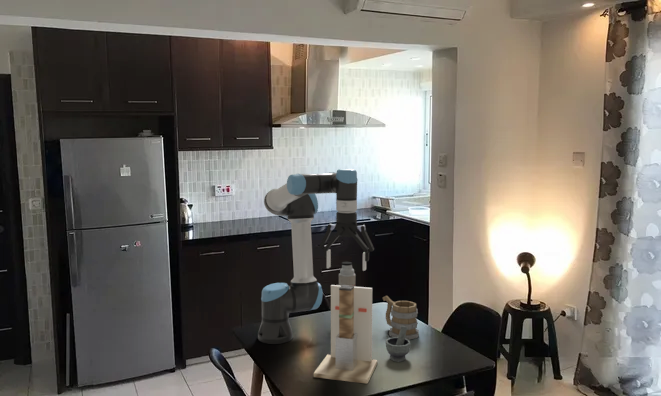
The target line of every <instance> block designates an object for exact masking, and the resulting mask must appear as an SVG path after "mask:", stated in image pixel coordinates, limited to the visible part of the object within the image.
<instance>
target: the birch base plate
mask: <svg viewBox="0 0 661 396" xmlns="http://www.w3.org/2000/svg"><path fill="white" fill-rule="evenodd" d="M377 365H378V360H377V359H372V361H362V360H357V365H356V366H355V368H354V370H353V371H349V370H341V369H336V358H335V357H331V354H329V353H327V354H326V356H325V357H324V358H323V360H322V361H321V362H320V364H319V365H318V366H317V368H316V369H315V370H314V372H313V378H320V379H327V380H336V381H343V382H344V381H345V382H350V383H361V384H369V381H370V379H371V378H372V376H373V373H374V371H375V369H376V367H377Z"/></svg>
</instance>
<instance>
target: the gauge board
mask: <svg viewBox="0 0 661 396" xmlns="http://www.w3.org/2000/svg"><path fill="white" fill-rule="evenodd" d="M340 287H341V286H340V285H339V284H336V285H335V284H331V285H330V355H331V357H335V358H336V336H337V335H338V334H339V288H340ZM354 333H357V360H362V361H372V355H373V354H372V353H373V287H366V286H365V287H364V286H355V287H354Z"/></svg>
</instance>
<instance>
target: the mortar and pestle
mask: <svg viewBox="0 0 661 396" xmlns="http://www.w3.org/2000/svg"><path fill="white" fill-rule="evenodd" d="M407 329H408V328H407V327H405V326H401V330H400V333H399V336H398V337H389V338H387V339H386V340H385V347H386V351H387V353H388V354H389V359H390V360H391V361H393V362H399V363H400V362H404V361H406V359H407V358H406V356H407V354H408V353H410V350H411V341H410V340H408V339H405V336H406V330H407Z"/></svg>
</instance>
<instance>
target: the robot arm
mask: <svg viewBox="0 0 661 396" xmlns="http://www.w3.org/2000/svg"><path fill="white" fill-rule="evenodd" d="M319 194H336V195H335V196H336V198H335V199H336V205H335V206H336V211H337V212H336V213H335V215H336V217H335V219H336V221H335V222H336V223H335V224H333V223H329V224H327V227H326V229H327V230H326V232H325V234H324V236H323V237H322V240H321V242H320V244H319V246H318V247H319V249H321V250H323V258H324V259H325V260H326V269H330V268H331V267H332V265H331V264H332V263H331V262H332V261H331V260H332V259H331V257H332V256H331V254H332V252H331V249H330V248H331V246H333V244H334V243H335V242H336V241H337V239H339V237H341V238H351V237H352V239H354V240H355V241H356V243H357V244H358V245H359V246H360V248H361V249H362V251H363V253H362V271H363V272H364V271H366V270H367V262H369V260H370V252H371V253H372V252H373V251H375V247H374V245H373V243H372V240H371V238H370V236H369V235H368V232H367V228H366V225H365V224H363V225H358V215H357V214H358V212H357V211H358V173H357V170H356V169H354V168H338V169H337V171H336V172H334V171H332V172H327V173H326V172H325V173H295V174H290V175H288V177H287V180H286V183H284V184H283V185H282V186H280V187H278V188H273V189H271V190H270V191H268V192H267V193H266V194H265V196H264V198H263V203H264V206H265V208H266V210H267V211H268V212H269V213H271V214H272V215H275V216H280V217H283V216H284V217H287V221H289V222H290V224H291V245H292V246H291V247H292V261H293V265H292V266H293V277H292V279H291V280H290V285H289V284H288V283H287V282H275V283H270V284H268V285H266V286H264V287H263V288H262V290H261V297H260V300H261V323H260V326H259V329H258V332H257V339H258V341H259V342H261V343H262V344H270V345H278V344H279V345H280V344H284V343H288V342H291V341H292V339H293V338H294V332H293V328H292V326H291V323H290V320H289V319H290V317H289V315H290V314H291V313H298V312H299V313H300V312H306V311H308V312H310V311H312V310H317V309H318V308H319V307H320V305H322V302H323V294H324V293H323V288H322V285H321V283H319V282H318V279H317V278H316V277H315V276H314V264H313V263H314V262H313V261H314V260H313V243H312V242H313V241H312V225H311V223H312V221H313V220H314V218H315V217H314V215H316V214H317V213H318V212H319V201H318V197H317V195H319ZM334 229H335V230H336V233H335V234H334V236H332V238H331V239H330V241H329V242H327V241H328V240H329V238H330V236H331V234H332V231H333V230H334ZM357 231H359V232H360V233H361V235H362V237H363V239H364V241H365V242H364V241H363V240H362V238H361V236H360V235H359V234H358V232H357ZM326 243H327V244H326Z"/></svg>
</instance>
